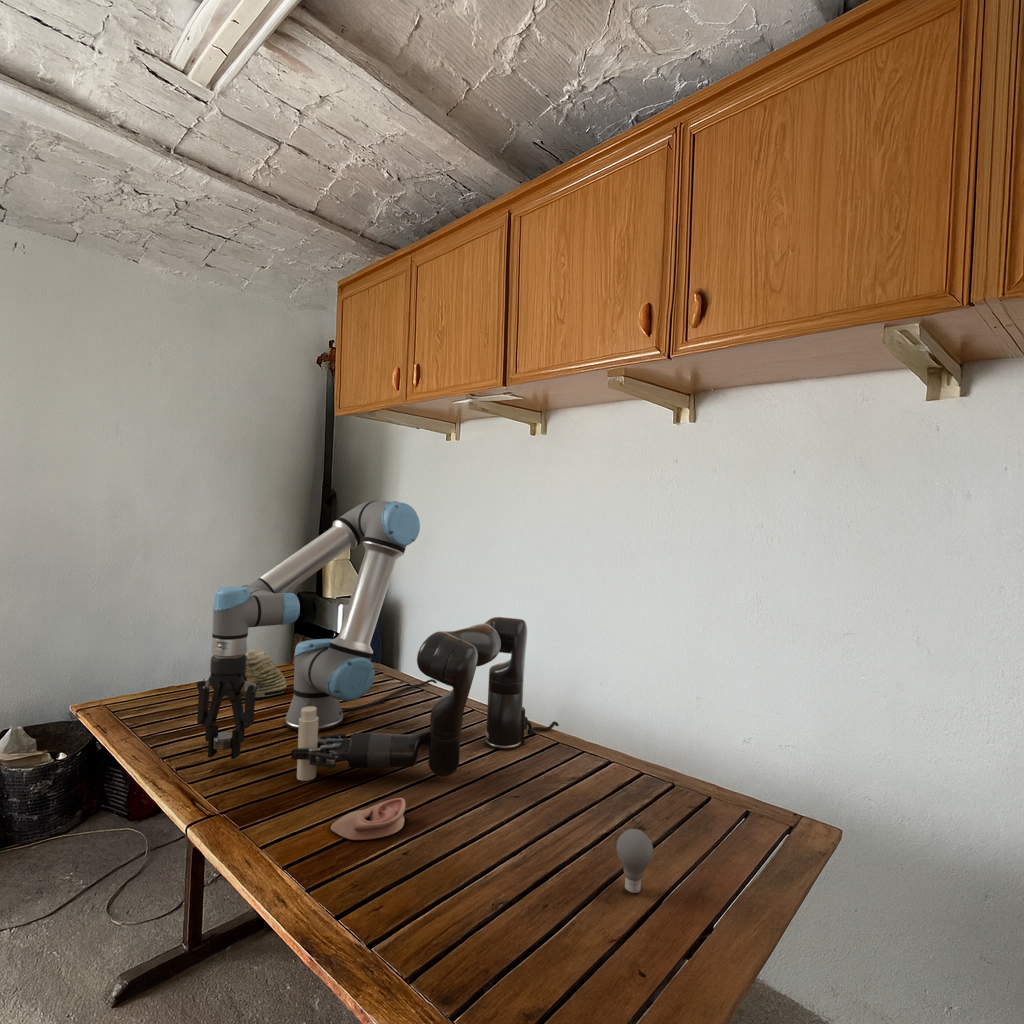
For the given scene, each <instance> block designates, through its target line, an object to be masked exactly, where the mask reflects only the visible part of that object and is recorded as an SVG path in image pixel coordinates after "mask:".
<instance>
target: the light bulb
mask: <svg viewBox="0 0 1024 1024" xmlns="http://www.w3.org/2000/svg"><path fill="white" fill-rule="evenodd" d="M615 849H616V854H617V857H618V859H619V861H620V863H621V865H622V867H623V873H624V874H623V875H624V876H625V878H624V888H625V890H627V891H628V892H630V893H634V894H635V893H639V892H640V891H641V889H642V887H641V886H642V879H643V877H644V875H645V871H646V868H647V867H648V866H649V864H650V863H651V861H652V859H653V855H654V847H653V843H652V841H651V838H649V836H648V835H647V834H646V833H645V832H643V831H642V830H641V829H636V828H629V829H627V830H625V831H623V832H622V833H621V834H620V835H619V837H618V839H617V841H616V847H615Z"/></svg>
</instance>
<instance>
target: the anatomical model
mask: <svg viewBox="0 0 1024 1024" xmlns="http://www.w3.org/2000/svg"><path fill="white" fill-rule="evenodd" d="M406 807H407V804H406V799H405V798H403V797H396V798H391V799H388V800H385V801H382V802H378V803H376V804H374V805H372V806H370V807H367V808H364V809H360V810H355V811H351V812H348V813H347V814H344V815H343V816H341V817H340V818H338V819H336V820H335V821H334V822H333V823H332V824H331V825H330V830H331V832H333V833H335V834H337V835H338V836H339V837H342V838H344V839H346V840H351V841H365V840H374V839H380V838H384V837H388V836H391V835H394V834H395V833H397V832H399V831H400V830H402V829H403V828H404V825H405V816H404V814H405V812H406V811H405V810H406Z"/></svg>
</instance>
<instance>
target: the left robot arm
mask: <svg viewBox="0 0 1024 1024" xmlns="http://www.w3.org/2000/svg"><path fill="white" fill-rule="evenodd" d="M420 529H421V521H420V517H419V516H418V513H417V511H416V510H415V509H414V507H412V505H410V504H408V503H406V502H400V501H398V500H397V501H396V500H392V501H387V500H386V501H385V500H369V501H368V500H367V501H365V502H363V503H360V504H358V505H357V506H355V507H352V508H351V509H350V510H348V511H347V512H345V513H344V514H343V515H341V516H340V517H338V518H336V520H334V521H333V522H332V526H331V527H330V528H328V530H326V531H324V532H323V533H322V534H320V535H318V536H317V537H316V538H314V539H313V540H311V541H310V542H309V543H307V544H306V545H304V546H303V547H301V548H300V549H299V550H297V551H296V552H294V553H293V554H292V555H290V556H289V557H287V558H286V559H284V560H283V561H282V562H280V563H278V564H277V565H276V566H274V567H273V568H271V569H270V570H269V571H267V572H266V573H264V574H262V575H261V576H260V577H259V578H257V579H255V580H254V581H253V582H251V583H250V584H241V585H239V586H238V585H237V586H222V587H220V588H218V589H216V591H215V593H214V597H213V605H212V635H211V651H210V652H211V653H210V654H211V655H212V656H211V657H210V668H209V671H210V675H209V677H208V678H203V679H201V680H199V681H197V682H196V687H197V691H198V697H197V698H198V702H197V716H196V718H197V719H196V720H197V721H196V723H197V725H202V726H204V727H205V736H204V740H205V742H208V744H207V758H212V757H213V756H215V755H217V753H218V750H216V749H214V748H213V736H214V735H215V734H217V733H219V724H217V722H218V721H217V718H218V714H219V712H220V708H221V705H222V701H223V698H224V697H228V700H229V702H230V705H231V709H232V715H233V720H234V725H235V728H234V729H232V731H231V732H232V748H231V751H230V752H231V753H230V760H235V759H237V758H238V757H239V756H241V745H242V743H244V742H245V735H246V734H245V733H246V732H245V731H246V729H248V728H249V727H251V726H252V725H253V724H254V722H255V708H256V707H255V704H256V697H255V692H256V690H257V687H258V683H256V682H255V683H251V682H249V681H247V678H246V676H245V672H246V659H247V656H246V655H245V653H247V648H248V636H249V628H257V627H269V626H279V625H280V626H284V625H289V624H293V623H295V622H296V621H297V620H298V619H299V616H300V614H301V613H300V611H301V603H300V600H299V597H298V596H297V595H296V593H293V592H291V591H292V590H294V589H295V588H296V587H298V586H299V585H301V584H302V583H303V582H305V581H306V580H308V579H309V578H310V577H311V576H313V575H314V574H315V573H317V572H318V571H320V570H322V568H324V567H325V566H326V565H328V564H330V563H331V562H332V561H333V560H334V559H336V558H337V557H339V556H340V555H341V554H343V553H344V552H346V551H348V549H351V550H354V549H356V548H357V547H359V546H360V545H361V544H363V547H364V549H365V552H364V556H363V559H362V562H361V565H360V568H359V571H358V574H357V577H356V581H355V583H354V587H353V590H352V592H351V596H350V598H349V602H348V605H347V608H346V612H345V615H344V618H343V620H342V624H341V626H340V630H339V633H338V636H336V637H335V638H319V639H308V640H303V641H300V642H297V644H296V646H295V650H294V655H293V657H294V672H293V695H292V696H293V697H292V699H291V702H290V704H289V708H288V711H287V713H286V715H285V726H286V728H287V729H289V730H291V731H294V732H295V731H296V732H298V726H299V718H300V717H301V709H302V708H303V707H308V706H313V707H316V708H317V716H318V717H319V723H318V732H325V731H329V730H332V729H335V728H337V727H339V726H340V725H342V723H343V722H344V714H343V711H344V712H345V711H349V712H350V711H355V710H359V709H364V708H367V707H370V706H371V707H372V706H374V705H377V704H379V703H381V702H383V701H385V700H387V699H390V698H391V697H394V696H396V695H397V694H400V693H402V692H405V691H408V690H411V689H415V688H418V687H422V686H425V685H428V684H430V683H434V684H437V683H438V681H437V680H435V679H432V678H430V679H428V680H425V681H423V682H420V683H416V684H413V685H409V686H406V687H404V688H400V689H398V690H396V691H394V692H392V693H390V694H387V695H386V696H383V697H381V698H379V699H377V700H375V701H372V702H368V703H364V704H361V705H357V706H352V707H351V706H350V707H342V706H341V702H340V701H343V702H353V701H357V700H359V699H360V698H361V697H363V696H364V695H366V693H368V692H369V690H370V689H371V688H372V686H373V684H374V681H375V677H376V671H375V668H374V665H373V663H372V658H373V655H374V650H373V649H372V647H371V643H372V639H373V635H374V632H375V630H376V627H377V623H378V620H379V617H380V613H381V610H382V607H383V605H384V600H385V597H386V594H387V591H388V588H389V585H390V581H391V579H392V574H393V572H394V568H395V565H396V562H397V560H398V559H399V558H401V557H402V556H404V555H405V551H406V549H407V547H408V546H409V545H411V544H412V543H413V542H415V541H416V540H417V539H418V536H419V533H420V531H421V530H420ZM244 686H245V692H246V695H245V698H244V705H243V699H242V698H241V697H242V693H241V689H242V688H243V687H244ZM210 687H211V688H212V690H213V693H212V694H211V695H212V696H211V703H210Z"/></svg>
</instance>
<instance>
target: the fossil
mask: <svg viewBox="0 0 1024 1024" xmlns="http://www.w3.org/2000/svg"><path fill="white" fill-rule="evenodd" d="M245 655H246V656H247V659H246V672H245V676H246V678H247V681H249V682H251V683H255V682H256V683H258V687H257V690H256V692H255V698H264V697H271V696H275V695H281V694H284V693H285V691H286V689H287V687H288V686H287V680H286V678H285V676H284V674H283V673H282V672H281V669H279V668H278V667H277V665H276V663H275V662H274V660H273V659H272V658H271V657H270V656H269V655H268V654H267V653H266V652H265V650H264V649H263V648H260V647H258V648H251V647H247V653H245ZM241 693H242V697H241V699H245V695H246V692H245V686H244V687H243V688H242V689H241Z"/></svg>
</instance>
